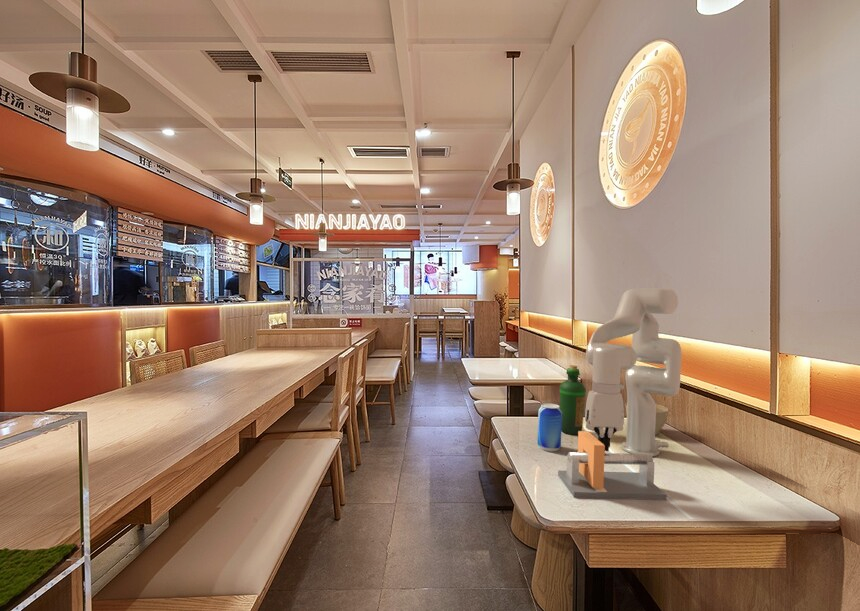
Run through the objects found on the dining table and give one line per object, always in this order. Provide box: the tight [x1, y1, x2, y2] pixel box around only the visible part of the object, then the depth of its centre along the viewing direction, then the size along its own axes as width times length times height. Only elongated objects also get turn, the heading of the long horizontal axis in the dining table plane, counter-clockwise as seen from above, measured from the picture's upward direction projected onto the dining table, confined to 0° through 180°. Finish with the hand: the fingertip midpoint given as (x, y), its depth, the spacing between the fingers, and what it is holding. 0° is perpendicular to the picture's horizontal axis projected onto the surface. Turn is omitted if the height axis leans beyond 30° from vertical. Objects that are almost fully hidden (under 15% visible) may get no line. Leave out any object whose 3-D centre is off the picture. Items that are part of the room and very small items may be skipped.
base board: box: [557, 469, 668, 500], centre depth 118 cm, size 26×14×2 cm, turn 90°
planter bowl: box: [624, 402, 669, 436], centre depth 170 cm, size 16×16×11 cm
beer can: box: [537, 402, 562, 452], centre depth 148 cm, size 8×8×16 cm
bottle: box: [559, 364, 587, 436], centre depth 167 cm, size 11×11×28 cm
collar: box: [577, 430, 606, 488], centre depth 118 cm, size 3×12×12 cm, turn 0°
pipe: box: [566, 451, 655, 486], centre depth 118 cm, size 24×4×9 cm, turn 90°
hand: (603, 449), depth 118 cm, fingers closed
